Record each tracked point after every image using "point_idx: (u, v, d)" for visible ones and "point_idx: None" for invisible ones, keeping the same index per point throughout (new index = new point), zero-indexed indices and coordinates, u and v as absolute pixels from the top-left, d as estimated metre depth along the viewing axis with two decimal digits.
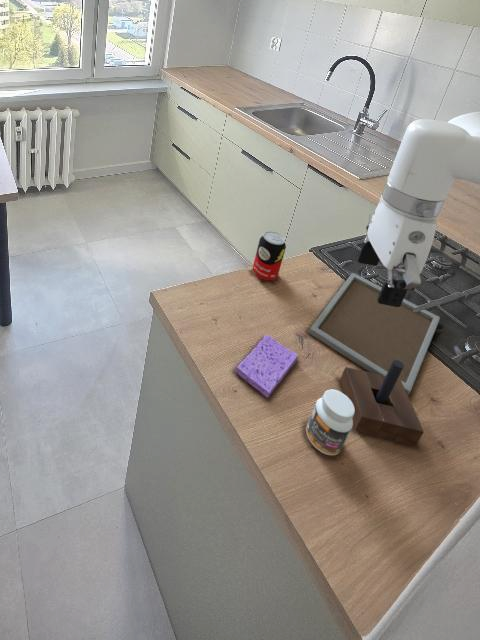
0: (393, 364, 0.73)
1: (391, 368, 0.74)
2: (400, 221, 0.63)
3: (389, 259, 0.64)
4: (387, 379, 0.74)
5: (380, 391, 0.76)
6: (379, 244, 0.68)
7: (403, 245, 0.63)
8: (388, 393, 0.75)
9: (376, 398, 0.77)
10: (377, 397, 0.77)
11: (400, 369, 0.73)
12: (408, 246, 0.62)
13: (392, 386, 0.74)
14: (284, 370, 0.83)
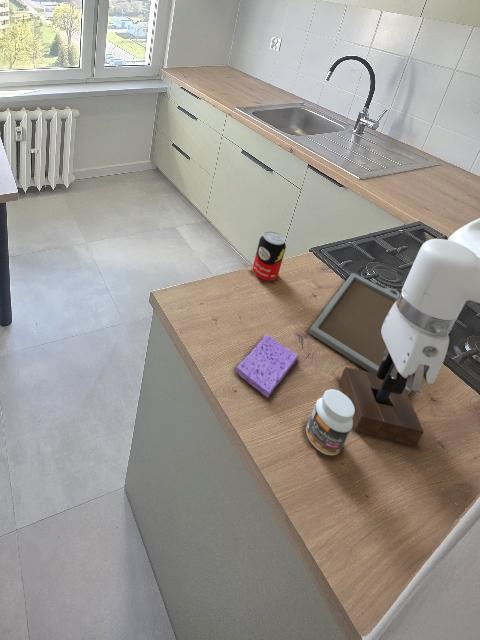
0: (393, 364, 0.73)
1: (391, 368, 0.74)
2: (414, 334, 0.66)
3: (403, 368, 0.68)
4: None
5: (380, 391, 0.76)
6: (393, 349, 0.71)
7: (417, 357, 0.66)
8: (388, 393, 0.75)
9: (376, 398, 0.77)
10: (377, 397, 0.77)
11: None
12: (422, 359, 0.66)
13: None
14: (284, 370, 0.83)
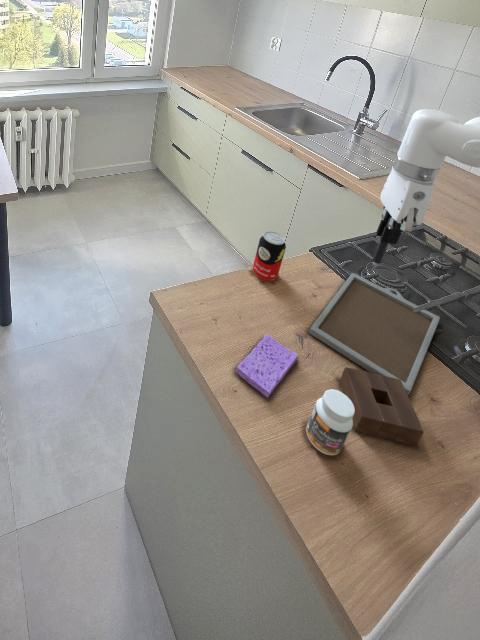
0: (389, 219, 0.92)
1: (388, 223, 0.92)
2: (407, 184, 0.85)
3: (398, 213, 0.87)
4: None
5: (379, 245, 0.95)
6: (390, 204, 0.90)
7: (409, 202, 0.85)
8: (385, 245, 0.94)
9: (375, 252, 0.96)
10: (376, 251, 0.95)
11: None
12: (412, 203, 0.84)
13: None
14: (284, 370, 0.83)
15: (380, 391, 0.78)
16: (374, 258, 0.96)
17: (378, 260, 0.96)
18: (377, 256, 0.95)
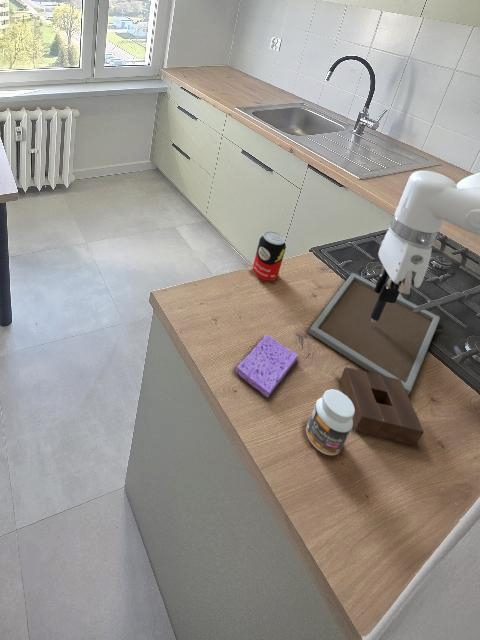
0: (387, 278, 0.90)
1: (386, 281, 0.91)
2: (404, 247, 0.83)
3: (396, 275, 0.85)
4: None
5: (377, 302, 0.93)
6: (388, 263, 0.88)
7: (406, 265, 0.83)
8: (384, 303, 0.92)
9: (374, 309, 0.94)
10: (375, 308, 0.94)
11: None
12: (410, 266, 0.83)
13: None
14: (284, 370, 0.83)
15: (380, 391, 0.78)
16: (372, 315, 0.94)
17: (376, 317, 0.94)
18: (376, 314, 0.94)
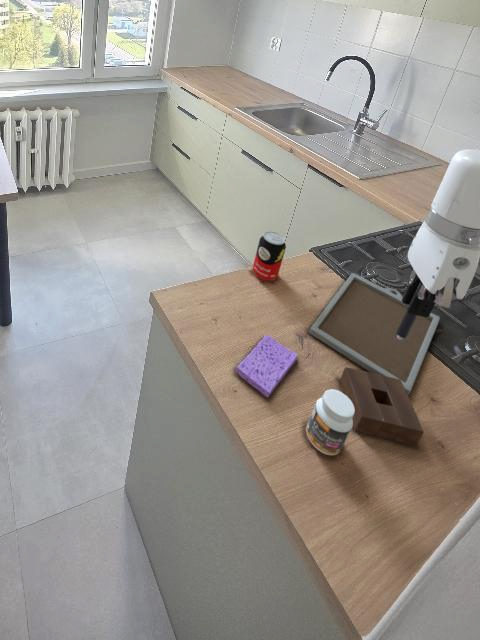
0: (420, 285, 0.72)
1: (417, 290, 0.73)
2: (444, 247, 0.65)
3: (432, 283, 0.67)
4: None
5: (405, 316, 0.75)
6: (421, 267, 0.70)
7: (447, 270, 0.65)
8: (414, 317, 0.74)
9: (401, 324, 0.76)
10: (402, 323, 0.76)
11: None
12: (452, 271, 0.65)
13: None
14: (284, 370, 0.83)
15: (380, 391, 0.78)
16: (399, 331, 0.76)
17: (404, 334, 0.76)
18: (403, 330, 0.76)
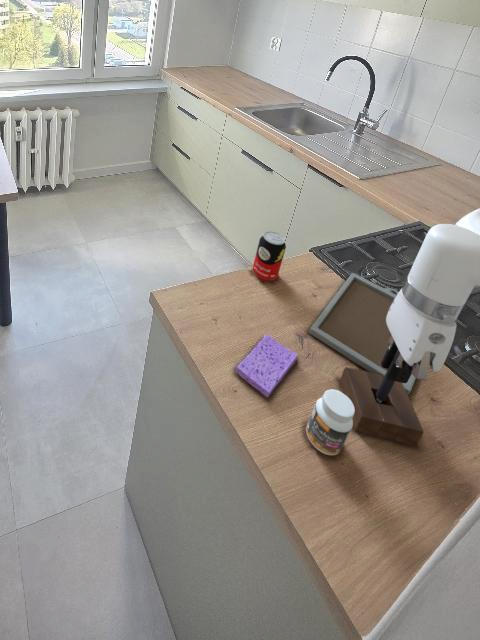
0: (397, 352, 0.72)
1: (395, 357, 0.73)
2: (421, 321, 0.65)
3: (409, 355, 0.67)
4: None
5: (384, 380, 0.75)
6: (399, 337, 0.70)
7: (423, 345, 0.65)
8: (392, 382, 0.74)
9: (380, 387, 0.76)
10: (381, 386, 0.76)
11: None
12: (428, 346, 0.65)
13: None
14: (284, 370, 0.83)
15: None
16: (378, 394, 0.76)
17: (383, 398, 0.76)
18: (382, 393, 0.76)
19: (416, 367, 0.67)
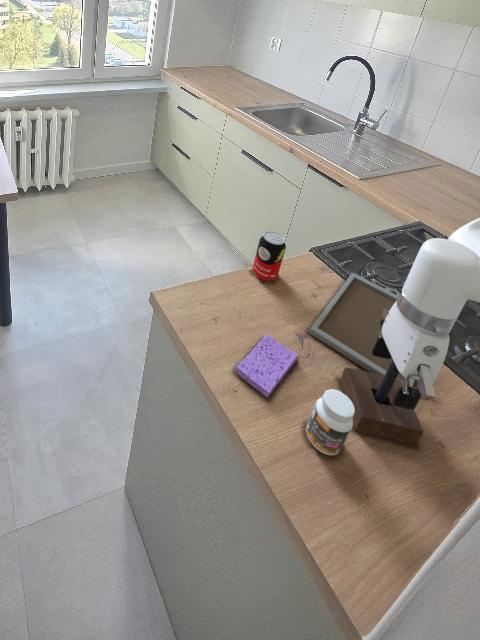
0: (392, 364, 0.73)
1: (390, 368, 0.74)
2: (415, 334, 0.66)
3: (404, 367, 0.68)
4: (386, 378, 0.75)
5: (378, 390, 0.76)
6: (394, 348, 0.71)
7: (418, 357, 0.66)
8: (387, 393, 0.75)
9: (375, 398, 0.77)
10: (376, 397, 0.77)
11: None
12: (422, 358, 0.66)
13: (391, 385, 0.74)
14: (284, 370, 0.83)
15: None
16: None
17: None
18: None
19: (418, 374, 0.66)
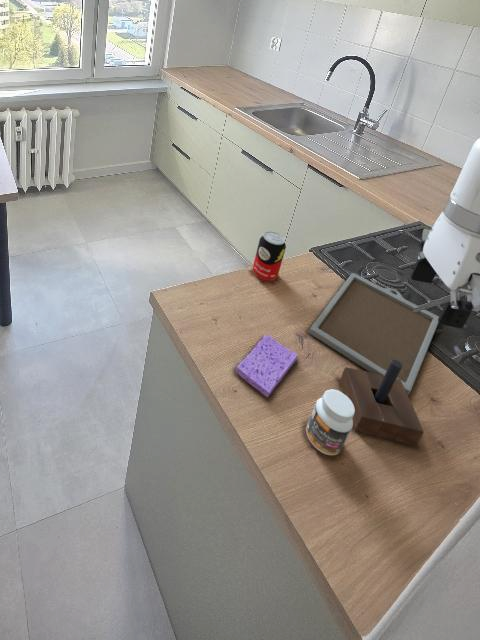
0: (392, 364, 0.73)
1: (390, 368, 0.74)
2: (466, 240, 0.61)
3: (453, 279, 0.62)
4: (386, 378, 0.75)
5: (378, 390, 0.76)
6: (440, 263, 0.65)
7: (469, 265, 0.60)
8: (387, 393, 0.75)
9: (375, 398, 0.77)
10: (376, 397, 0.77)
11: (399, 369, 0.73)
12: (475, 266, 0.60)
13: (391, 385, 0.74)
14: (284, 370, 0.83)
15: None
16: None
17: None
18: None
19: (470, 284, 0.61)
